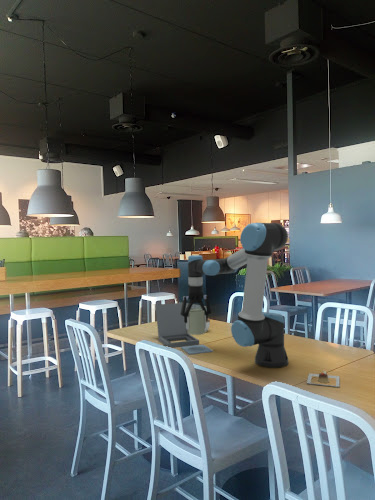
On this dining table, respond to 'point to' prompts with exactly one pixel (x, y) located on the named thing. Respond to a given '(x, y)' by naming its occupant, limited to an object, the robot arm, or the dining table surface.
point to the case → (173, 326)
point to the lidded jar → (207, 325)
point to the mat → (196, 349)
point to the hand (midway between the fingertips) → (196, 328)
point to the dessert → (323, 379)
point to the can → (196, 322)
